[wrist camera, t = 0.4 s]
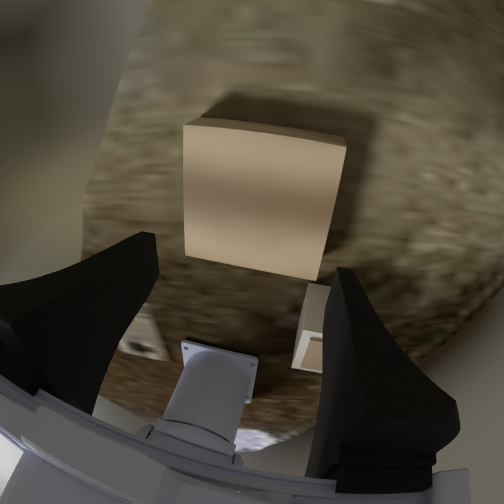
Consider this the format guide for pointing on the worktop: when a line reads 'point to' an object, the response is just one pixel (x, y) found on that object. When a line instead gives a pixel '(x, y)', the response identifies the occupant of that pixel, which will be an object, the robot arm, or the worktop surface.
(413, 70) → the worktop surface
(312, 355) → the box
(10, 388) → the robot arm
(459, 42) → the worktop surface
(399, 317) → the worktop surface
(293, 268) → the maple block
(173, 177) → the worktop surface
